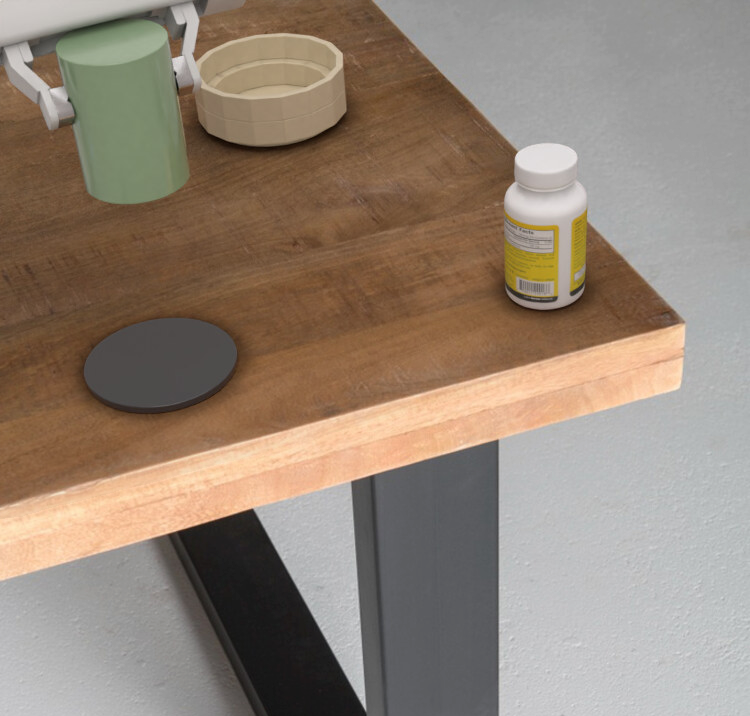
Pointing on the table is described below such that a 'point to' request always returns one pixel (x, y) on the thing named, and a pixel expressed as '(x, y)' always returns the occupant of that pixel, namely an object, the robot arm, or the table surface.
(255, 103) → the cream bowl
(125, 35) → the sage green cylinder
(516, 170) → the supplement bottle
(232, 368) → the slate coaster
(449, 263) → the table surface
